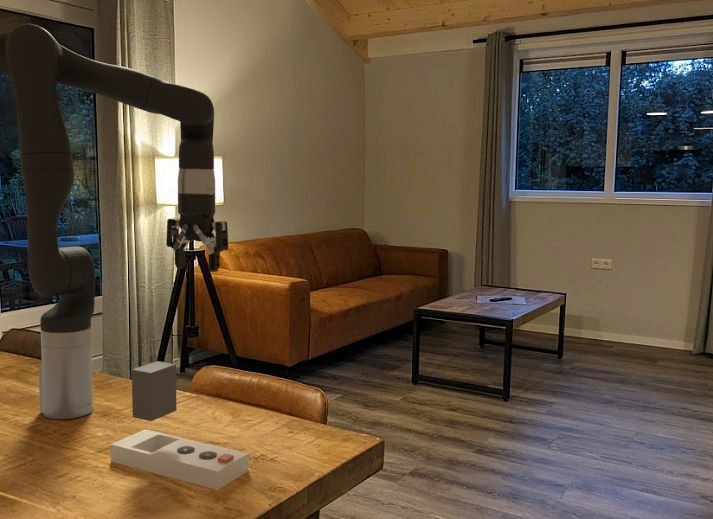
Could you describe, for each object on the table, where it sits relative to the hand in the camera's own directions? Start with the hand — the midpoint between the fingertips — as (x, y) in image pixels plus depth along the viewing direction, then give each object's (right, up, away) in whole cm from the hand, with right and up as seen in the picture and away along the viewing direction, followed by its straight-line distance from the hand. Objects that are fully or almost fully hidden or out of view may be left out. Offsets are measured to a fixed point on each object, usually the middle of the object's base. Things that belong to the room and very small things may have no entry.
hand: (197, 269), depth 144 cm
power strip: (+4, -32, -30) cm, 44 cm away
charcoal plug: (0, -24, -29) cm, 37 cm away
